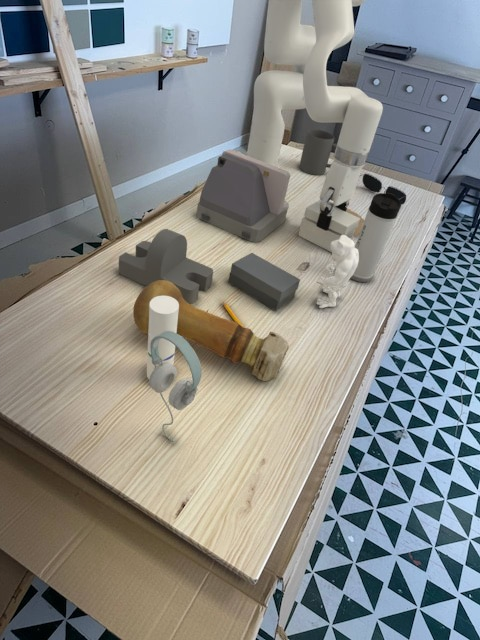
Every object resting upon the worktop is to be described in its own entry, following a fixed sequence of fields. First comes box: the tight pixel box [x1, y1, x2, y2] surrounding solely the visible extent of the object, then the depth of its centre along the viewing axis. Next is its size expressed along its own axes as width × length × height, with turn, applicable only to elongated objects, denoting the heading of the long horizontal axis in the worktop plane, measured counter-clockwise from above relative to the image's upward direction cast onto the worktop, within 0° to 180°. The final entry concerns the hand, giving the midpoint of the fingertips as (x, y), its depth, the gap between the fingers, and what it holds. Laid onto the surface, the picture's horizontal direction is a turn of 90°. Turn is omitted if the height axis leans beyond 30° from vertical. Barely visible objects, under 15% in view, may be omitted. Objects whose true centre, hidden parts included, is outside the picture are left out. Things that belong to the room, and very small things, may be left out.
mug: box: [299, 128, 337, 176], centre depth 155 cm, size 14×9×12 cm
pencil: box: [222, 301, 245, 328], centre depth 89 cm, size 1×19×1 cm, turn 28°
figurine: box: [315, 235, 359, 309], centre depth 97 cm, size 11×7×15 cm, turn 157°
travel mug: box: [350, 192, 402, 283], centre depth 106 cm, size 6×7×20 cm
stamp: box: [132, 280, 290, 382], centre depth 81 cm, size 10×28×15 cm, turn 69°
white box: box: [303, 199, 360, 235], centre depth 118 cm, size 12×7×2 cm, turn 51°
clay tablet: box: [346, 208, 365, 238], centre depth 131 cm, size 14×10×3 cm
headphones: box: [148, 331, 202, 443], centre depth 62 cm, size 8×4×20 cm, turn 49°
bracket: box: [118, 228, 214, 305], centre depth 95 cm, size 10×18×11 cm, turn 63°
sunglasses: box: [360, 173, 407, 206], centre depth 146 cm, size 17×15×5 cm
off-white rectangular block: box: [298, 216, 355, 253], centre depth 121 cm, size 12×7×5 cm, turn 52°
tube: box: [146, 296, 179, 380], centre depth 73 cm, size 4×4×15 cm
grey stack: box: [227, 252, 301, 312], centre depth 99 cm, size 13×7×5 cm, turn 51°
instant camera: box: [196, 148, 291, 243], centre depth 120 cm, size 21×21×15 cm
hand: (329, 223), depth 119 cm, fingers closed on white box, 7 cm apart
